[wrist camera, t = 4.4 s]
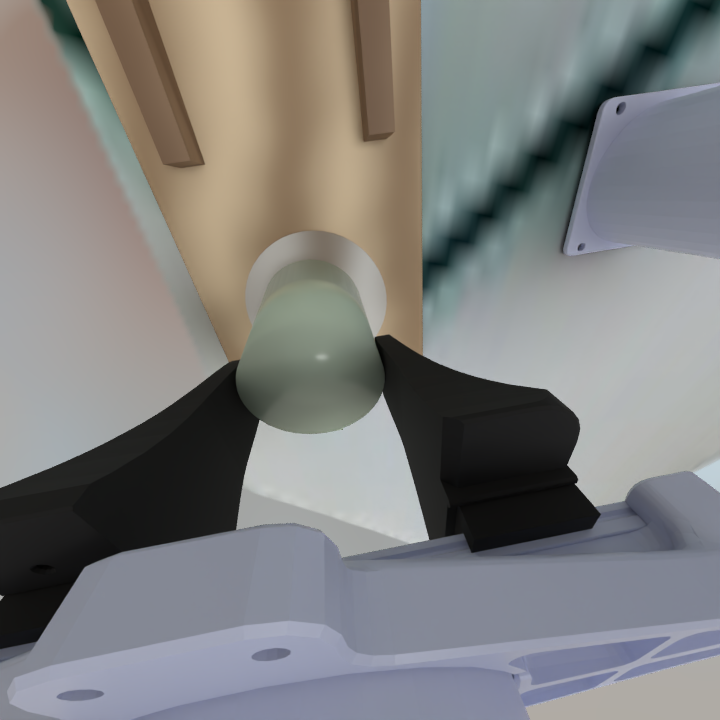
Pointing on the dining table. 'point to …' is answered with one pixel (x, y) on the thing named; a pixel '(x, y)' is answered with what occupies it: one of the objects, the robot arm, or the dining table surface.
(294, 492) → the dining table surface
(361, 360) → the sage green cylinder
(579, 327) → the dining table surface
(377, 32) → the board
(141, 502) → the robot arm
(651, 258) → the dining table surface
